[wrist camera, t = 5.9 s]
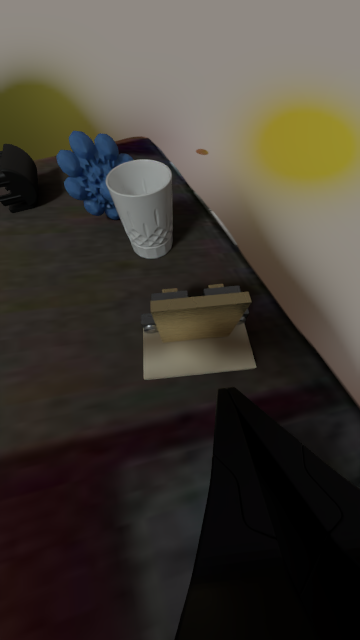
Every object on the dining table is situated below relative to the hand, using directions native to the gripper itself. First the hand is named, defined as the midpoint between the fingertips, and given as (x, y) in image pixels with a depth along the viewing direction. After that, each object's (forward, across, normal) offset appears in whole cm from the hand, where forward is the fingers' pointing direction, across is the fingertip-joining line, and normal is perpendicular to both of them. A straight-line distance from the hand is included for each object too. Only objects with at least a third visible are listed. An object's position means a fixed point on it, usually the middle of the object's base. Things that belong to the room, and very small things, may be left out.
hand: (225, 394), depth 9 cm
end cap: (+39, +30, -20) cm, 53 cm away
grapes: (+31, +11, -13) cm, 35 cm away
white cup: (+26, +5, -8) cm, 28 cm away
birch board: (+13, 0, +4) cm, 14 cm away
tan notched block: (+14, 0, +2) cm, 14 cm away
